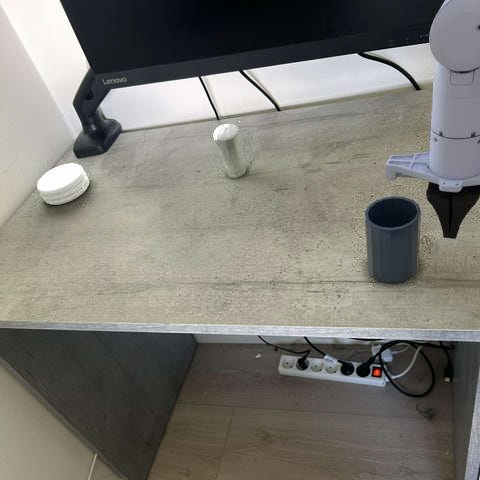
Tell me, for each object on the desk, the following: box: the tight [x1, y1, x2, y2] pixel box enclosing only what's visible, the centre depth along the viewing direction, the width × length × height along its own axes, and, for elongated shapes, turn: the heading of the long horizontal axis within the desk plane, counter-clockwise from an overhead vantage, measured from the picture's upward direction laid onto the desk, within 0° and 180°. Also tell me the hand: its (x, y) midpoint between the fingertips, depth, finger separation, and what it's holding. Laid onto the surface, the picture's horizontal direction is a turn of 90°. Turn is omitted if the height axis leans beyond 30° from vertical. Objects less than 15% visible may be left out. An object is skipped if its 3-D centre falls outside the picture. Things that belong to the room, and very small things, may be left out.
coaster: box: [36, 163, 90, 206], centre depth 100 cm, size 10×10×4 cm
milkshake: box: [213, 120, 246, 179], centre depth 86 cm, size 4×5×10 cm
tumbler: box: [364, 195, 422, 285], centre depth 62 cm, size 6×6×9 cm
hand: (451, 233), depth 57 cm, fingers closed
